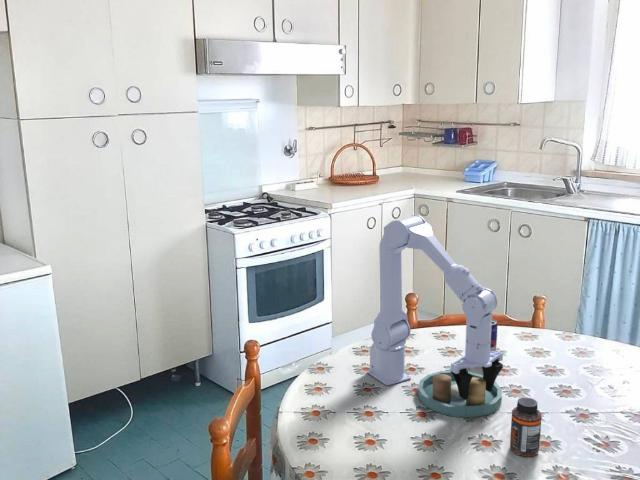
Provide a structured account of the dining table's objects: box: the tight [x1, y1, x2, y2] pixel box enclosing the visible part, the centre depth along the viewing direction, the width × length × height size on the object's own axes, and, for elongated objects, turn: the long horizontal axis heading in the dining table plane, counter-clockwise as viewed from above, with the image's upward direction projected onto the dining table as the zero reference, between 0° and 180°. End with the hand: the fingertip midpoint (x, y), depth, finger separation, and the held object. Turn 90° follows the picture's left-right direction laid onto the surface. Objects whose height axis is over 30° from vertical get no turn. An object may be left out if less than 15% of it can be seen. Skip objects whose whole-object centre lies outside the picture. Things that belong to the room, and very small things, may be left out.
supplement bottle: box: [509, 397, 542, 457], centre depth 136 cm, size 6×6×11 cm
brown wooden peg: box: [432, 374, 452, 404], centre depth 157 cm, size 4×4×6 cm
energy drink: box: [490, 318, 498, 351], centre depth 179 cm, size 5×5×12 cm
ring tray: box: [417, 370, 503, 419], centre depth 161 cm, size 20×20×2 cm
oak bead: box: [466, 378, 486, 406], centre depth 155 cm, size 4×4×6 cm
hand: (475, 393), depth 155 cm, fingers open, 7 cm apart
